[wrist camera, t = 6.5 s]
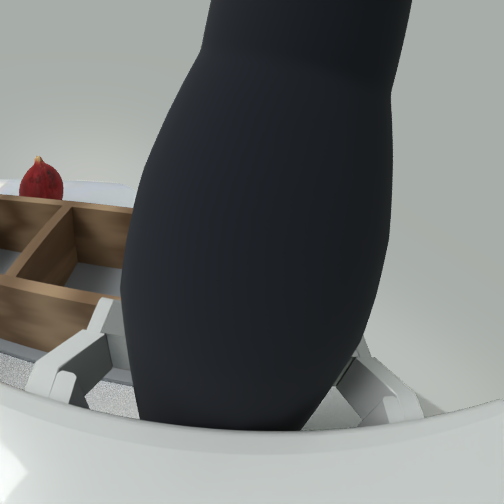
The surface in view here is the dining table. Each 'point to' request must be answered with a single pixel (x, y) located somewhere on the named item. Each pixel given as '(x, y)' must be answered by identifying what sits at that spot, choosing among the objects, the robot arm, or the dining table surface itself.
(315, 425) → the dining table surface
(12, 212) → the wooden divided box
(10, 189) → the dining table surface
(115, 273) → the mat
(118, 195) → the dining table surface
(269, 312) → the black water bottle
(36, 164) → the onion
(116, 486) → the robot arm
